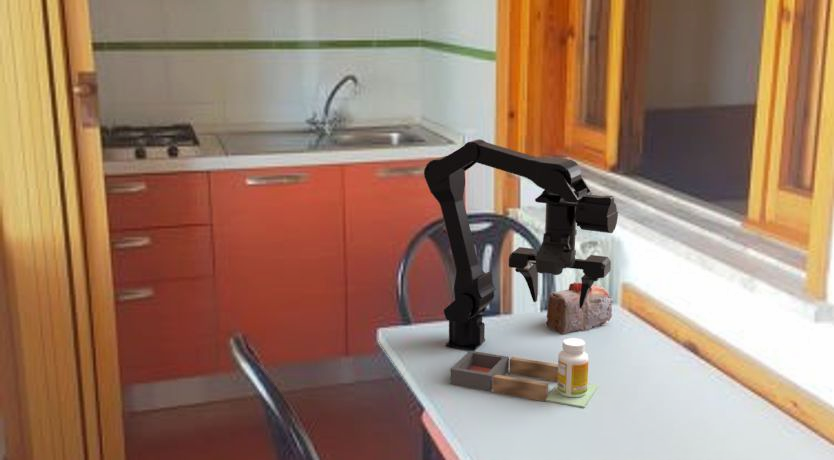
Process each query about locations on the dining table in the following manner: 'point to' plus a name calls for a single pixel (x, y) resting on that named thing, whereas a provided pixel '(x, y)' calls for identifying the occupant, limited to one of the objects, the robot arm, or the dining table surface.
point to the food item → (578, 309)
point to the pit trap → (478, 370)
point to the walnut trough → (526, 386)
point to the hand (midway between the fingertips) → (557, 304)
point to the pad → (572, 401)
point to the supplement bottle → (573, 368)
